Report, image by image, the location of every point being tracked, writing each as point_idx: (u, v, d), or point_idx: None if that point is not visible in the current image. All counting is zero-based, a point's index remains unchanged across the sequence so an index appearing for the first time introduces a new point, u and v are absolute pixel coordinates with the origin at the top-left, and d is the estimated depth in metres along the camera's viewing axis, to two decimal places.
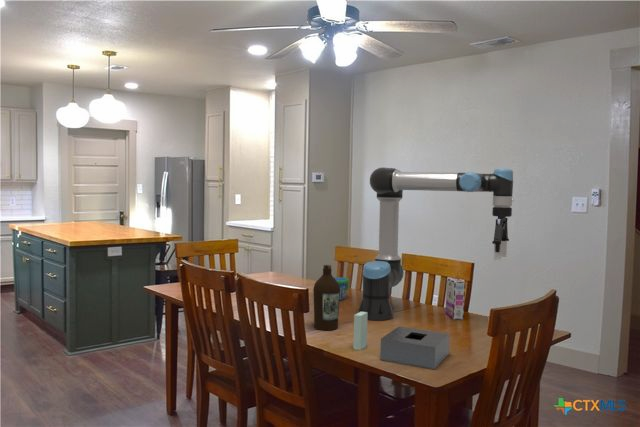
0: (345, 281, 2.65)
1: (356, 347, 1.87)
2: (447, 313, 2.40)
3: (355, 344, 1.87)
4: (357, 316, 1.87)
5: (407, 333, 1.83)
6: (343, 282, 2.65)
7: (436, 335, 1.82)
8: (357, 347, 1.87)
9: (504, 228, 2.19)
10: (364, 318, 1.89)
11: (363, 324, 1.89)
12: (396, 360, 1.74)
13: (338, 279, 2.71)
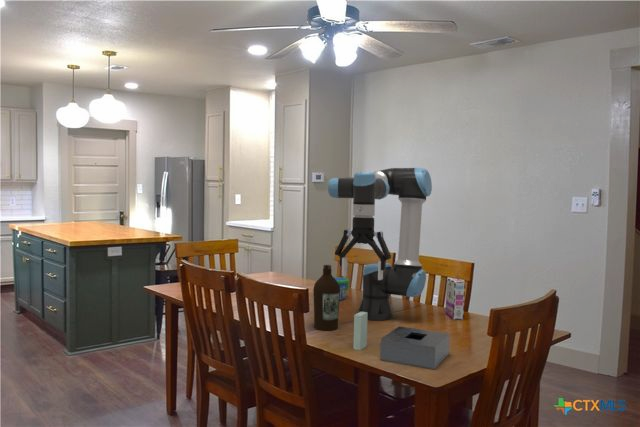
0: (345, 281, 2.65)
1: (356, 347, 1.87)
2: (447, 313, 2.40)
3: (355, 344, 1.87)
4: (357, 316, 1.87)
5: (407, 333, 1.83)
6: (343, 282, 2.65)
7: (436, 335, 1.82)
8: (357, 347, 1.87)
9: (352, 241, 1.88)
10: (364, 318, 1.89)
11: (363, 324, 1.89)
12: (396, 360, 1.74)
13: (338, 279, 2.71)
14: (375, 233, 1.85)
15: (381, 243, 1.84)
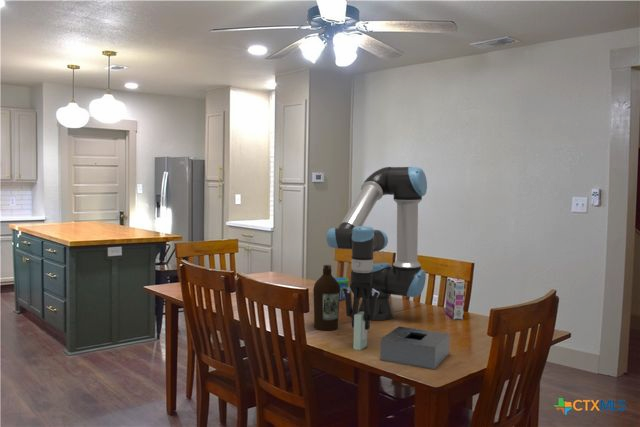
0: (345, 281, 2.65)
1: (356, 347, 1.87)
2: (447, 313, 2.40)
3: (355, 344, 1.87)
4: (357, 316, 1.87)
5: (407, 333, 1.83)
6: (343, 282, 2.65)
7: (436, 335, 1.82)
8: (357, 347, 1.87)
9: (354, 297, 1.88)
10: (364, 318, 1.89)
11: None
12: (396, 360, 1.74)
13: (338, 279, 2.71)
14: (373, 291, 1.86)
15: (373, 303, 1.86)
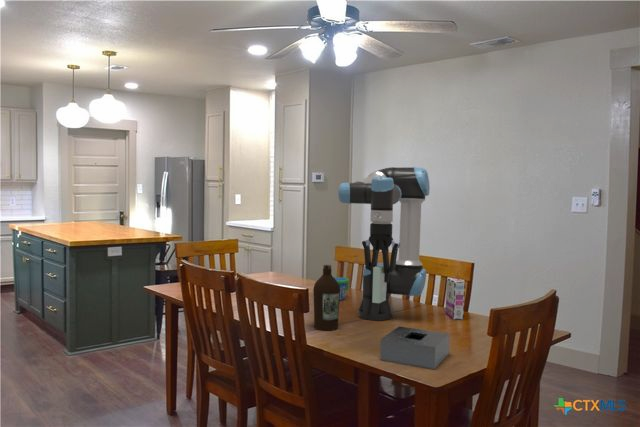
0: (345, 281, 2.65)
1: (375, 300, 1.83)
2: (447, 313, 2.40)
3: (374, 297, 1.83)
4: (376, 268, 1.83)
5: (407, 333, 1.83)
6: (343, 282, 2.65)
7: (436, 335, 1.82)
8: (376, 300, 1.83)
9: (374, 250, 1.84)
10: (383, 271, 1.85)
11: None
12: (396, 360, 1.74)
13: (338, 279, 2.71)
14: (393, 242, 1.82)
15: (393, 255, 1.81)
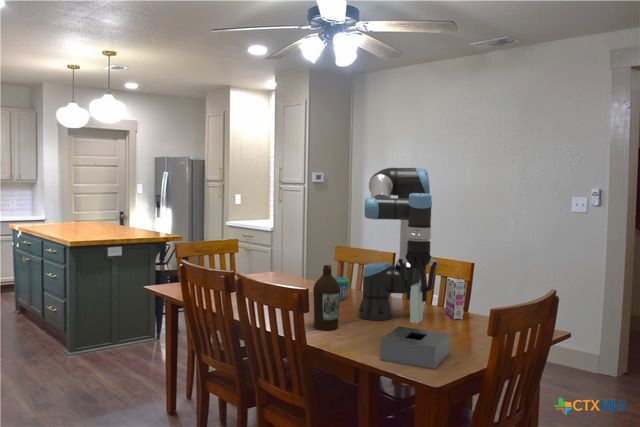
0: (345, 281, 2.65)
1: (413, 320, 1.77)
2: (447, 313, 2.40)
3: (412, 317, 1.77)
4: (414, 287, 1.77)
5: (407, 333, 1.83)
6: (343, 282, 2.65)
7: (436, 335, 1.82)
8: (414, 320, 1.77)
9: (411, 268, 1.78)
10: (421, 289, 1.79)
11: None
12: (396, 360, 1.74)
13: (338, 279, 2.71)
14: (431, 260, 1.76)
15: (431, 273, 1.76)
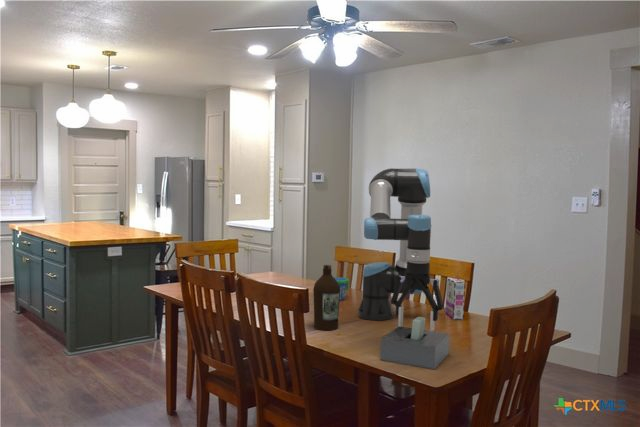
0: (345, 281, 2.65)
1: None
2: (447, 313, 2.40)
3: None
4: (416, 322, 1.77)
5: (407, 333, 1.83)
6: (343, 282, 2.65)
7: (436, 335, 1.82)
8: None
9: (407, 288, 1.79)
10: (422, 324, 1.80)
11: (421, 330, 1.79)
12: (396, 360, 1.74)
13: (338, 279, 2.71)
14: (431, 280, 1.77)
15: (436, 292, 1.75)
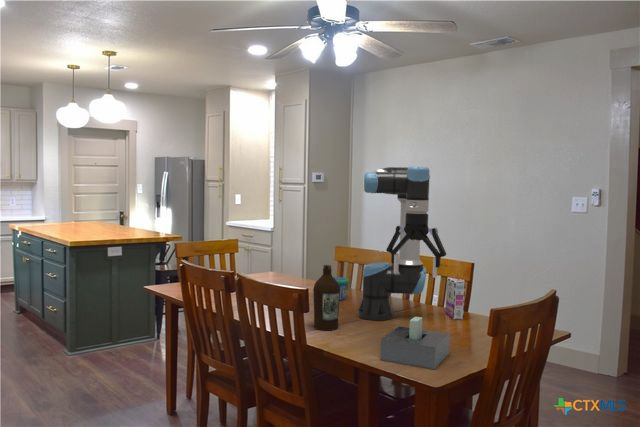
0: (345, 281, 2.65)
1: None
2: (447, 313, 2.40)
3: None
4: (413, 321, 1.77)
5: (407, 333, 1.83)
6: (343, 282, 2.65)
7: (436, 335, 1.82)
8: None
9: (405, 237, 1.83)
10: (420, 323, 1.80)
11: (419, 330, 1.80)
12: (396, 360, 1.74)
13: (338, 279, 2.71)
14: (429, 229, 1.80)
15: (436, 240, 1.79)
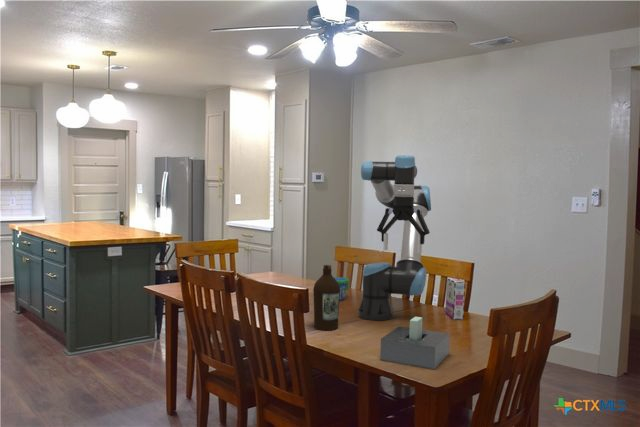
0: (345, 281, 2.65)
1: None
2: (447, 313, 2.40)
3: None
4: (413, 321, 1.77)
5: (407, 333, 1.83)
6: (343, 282, 2.65)
7: (436, 335, 1.82)
8: None
9: (393, 218, 2.07)
10: (420, 323, 1.80)
11: (419, 330, 1.80)
12: (396, 360, 1.74)
13: (338, 279, 2.71)
14: (415, 211, 2.04)
15: (420, 220, 2.03)
